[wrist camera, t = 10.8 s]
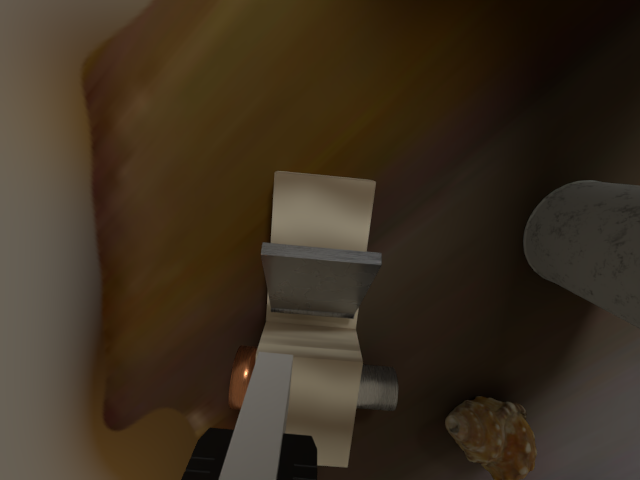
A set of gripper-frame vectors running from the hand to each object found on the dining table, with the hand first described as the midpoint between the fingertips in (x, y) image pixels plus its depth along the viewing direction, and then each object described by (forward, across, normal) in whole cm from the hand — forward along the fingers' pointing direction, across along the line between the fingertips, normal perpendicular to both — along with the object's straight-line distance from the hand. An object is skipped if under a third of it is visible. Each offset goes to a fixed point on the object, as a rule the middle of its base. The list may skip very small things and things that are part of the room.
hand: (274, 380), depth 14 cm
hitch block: (+16, +2, -4) cm, 16 cm away
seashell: (+16, +20, -15) cm, 30 cm away
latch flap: (+10, +2, +1) cm, 10 cm away
